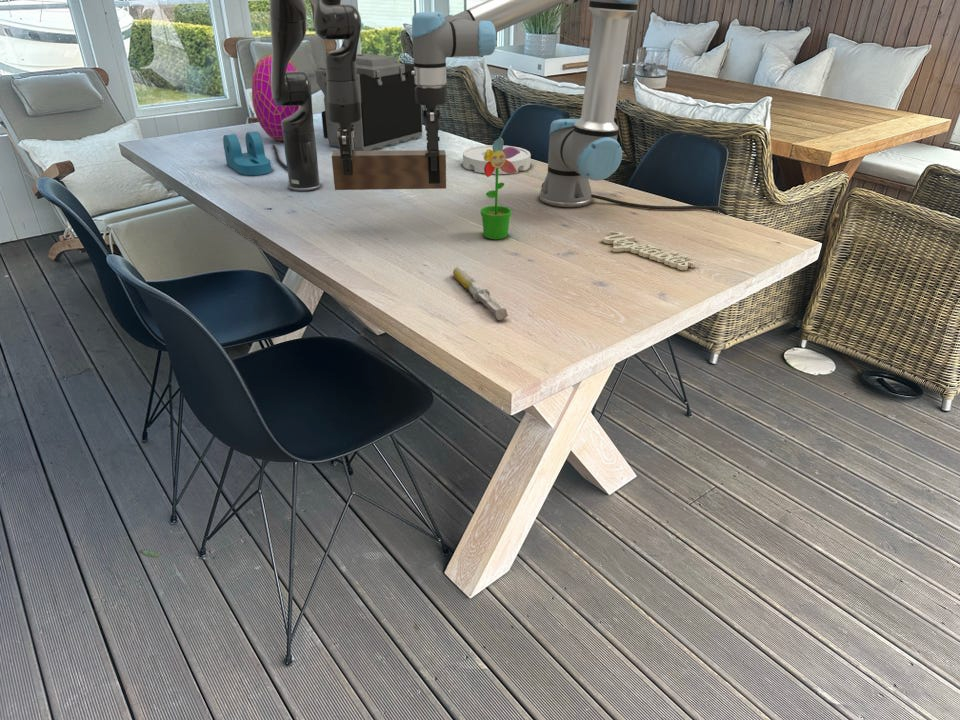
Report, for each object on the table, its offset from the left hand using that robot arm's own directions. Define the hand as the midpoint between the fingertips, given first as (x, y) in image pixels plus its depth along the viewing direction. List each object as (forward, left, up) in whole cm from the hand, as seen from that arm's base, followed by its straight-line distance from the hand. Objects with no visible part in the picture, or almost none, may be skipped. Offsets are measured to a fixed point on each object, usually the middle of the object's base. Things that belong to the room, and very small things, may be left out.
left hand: (349, 171), depth 170 cm
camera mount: (-73, -10, -16) cm, 75 cm away
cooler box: (-91, +41, -16) cm, 101 cm away
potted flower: (+20, +31, -16) cm, 40 cm away
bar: (+4, +9, -4) cm, 11 cm away
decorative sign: (+47, +57, -16) cm, 75 cm away
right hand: (+9, +19, -1) cm, 21 cm away
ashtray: (-40, +66, -16) cm, 79 cm away
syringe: (+50, +10, -16) cm, 53 cm away
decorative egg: (-109, +11, -16) cm, 110 cm away
